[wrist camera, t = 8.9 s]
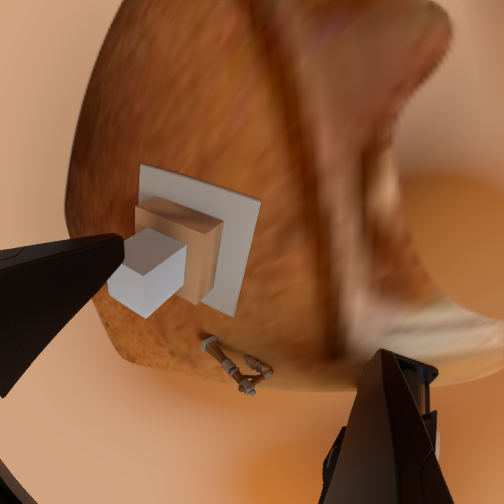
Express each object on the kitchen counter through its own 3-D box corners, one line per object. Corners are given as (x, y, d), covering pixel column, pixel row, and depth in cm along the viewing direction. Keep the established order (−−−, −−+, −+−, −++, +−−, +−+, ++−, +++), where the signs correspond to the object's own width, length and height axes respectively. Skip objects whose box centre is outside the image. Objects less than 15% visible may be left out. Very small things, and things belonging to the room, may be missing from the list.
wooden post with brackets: (277, 381, 28) (246, 403, 25) (230, 336, 32) (199, 351, 29) (281, 373, 27) (250, 395, 24) (232, 326, 31) (200, 341, 28)
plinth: (224, 220, 22) (204, 234, 20) (213, 287, 26) (196, 305, 23) (157, 196, 24) (135, 206, 21) (155, 259, 27) (136, 273, 25)
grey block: (186, 244, 21) (143, 276, 17) (183, 285, 23) (145, 318, 19) (148, 227, 22) (103, 252, 18) (147, 266, 24) (109, 294, 20)
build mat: (261, 200, 21) (259, 202, 20) (234, 315, 27) (232, 317, 26) (143, 163, 23) (140, 164, 23) (141, 267, 30) (139, 269, 29)
